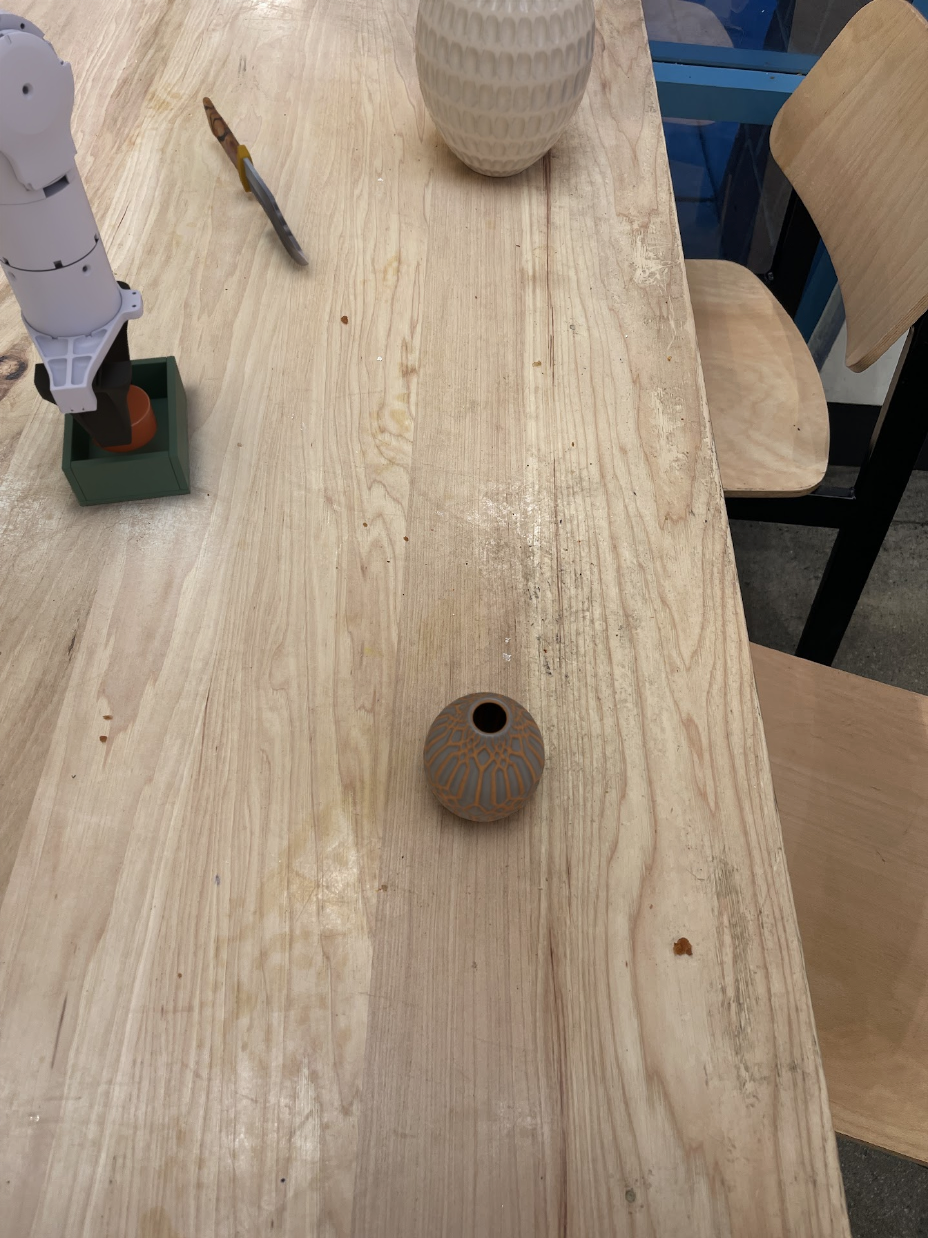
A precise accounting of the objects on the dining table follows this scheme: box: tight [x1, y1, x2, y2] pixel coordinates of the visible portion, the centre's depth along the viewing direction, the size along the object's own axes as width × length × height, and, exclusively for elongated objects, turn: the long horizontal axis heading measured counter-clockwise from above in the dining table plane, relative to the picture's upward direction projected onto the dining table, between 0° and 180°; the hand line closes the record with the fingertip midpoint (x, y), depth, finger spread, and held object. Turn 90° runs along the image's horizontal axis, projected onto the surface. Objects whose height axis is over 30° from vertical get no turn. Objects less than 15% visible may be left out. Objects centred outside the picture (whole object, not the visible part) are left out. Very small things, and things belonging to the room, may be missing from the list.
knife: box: [202, 96, 310, 267], centre depth 81 cm, size 25×1×5 cm, turn 28°
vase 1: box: [414, 0, 596, 178], centre depth 80 cm, size 16×16×22 cm
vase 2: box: [422, 691, 546, 822], centre depth 50 cm, size 7×7×9 cm
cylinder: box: [90, 384, 157, 453], centre depth 62 cm, size 5×5×2 cm
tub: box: [61, 355, 191, 507], centre depth 65 cm, size 8×10×4 cm
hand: (116, 415), depth 61 cm, fingers closed on cylinder, 5 cm apart
